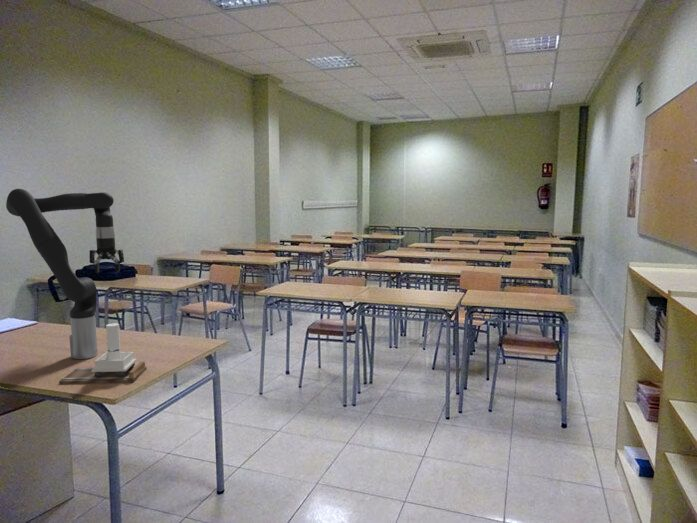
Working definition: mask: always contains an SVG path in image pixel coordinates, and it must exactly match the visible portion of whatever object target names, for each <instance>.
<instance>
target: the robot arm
mask: <svg viewBox="0 0 697 523" xmlns="http://www.w3.org/2000/svg"><path fill="white" fill-rule="evenodd" d="M5 203H6V204H5V207H6V211H8V213H10V214H11V215H13V216H15V217H20V219H21V220H22V221H23V223H24V224H25V226H26V229H27V231H28V235H29V237H30V239H31V241H32V243H33V246H34V247H35V250H37V252H38V254H39V255H40V257H42V259H43V260H44V262H45V264H47V266H48V268H49V269H50V271H51V272H52V274H53V276H54V277H55V279H56V281H57V282H58V285H59V286H60V289H61V291H62V292H63V293H64V296H65V297H66V298H67V299H68V300H70V301H71V302H74V305H73V306H72V308H71V309H70V311H69V317H70V318H69V320H70V330H71V334H70V335H69V350H70V358H71V359H76V360H85V359H92V358H94V357H95V358H96V357H97V356H98V351H99V350H98V340H97V339H98V338H97V337H98V336H97V325H96V309H97V304H98V301H97V300H98V299H97V298H98V297H97V295H98V294H97V286H96V282H94V280H93V279H92V278H90V277H87V276H85V277H78V276H77V275H76V274H75V272H74V271H73V269H72V268H71V266H70V262H69V256H68V251H67V248H66V246H65V245H64V243H63V241H62V240H61V238H60V237H59V235H58V234H57V233H56V231H55V230H54V229H53V227H52V226H51V224H50V223H49V222H48V220H47V219H46V218H45V216H44V214H43V213H47V212H48V213H49V212H58V211H72V210H75V211H76V210H87V209H93V210H94V211H93V212H94V215H95V237H96V239H95V240H96V242H95V243H96V249H91V250H89V263H90V264H93V265H94V266H93V268H94V272H95V273H97V274H99V273H100V262H101V261H102V260H111V261H113V262H114V264H115V265H114V266H115V268H114V269H115V273H119V272H120V271H121V264H122V263H124V262H125V256H124V251H123V249H122V248H121V249H116V236H115V235H116V234H115V227H114V219H113V215H112V214H111V206H113V204H114V203H115V202H114V198H113V195H111V194H110V193H109V192H93V193H83V192H78V193H75V192H74V193H72V192H71V193H63V194H57V195H54V196H50V197H41V198H34V196H33V195H32V193H30V192H29V191H27V190H26V189H23V188H14V189H12V190H10V192H9V193H8V195H7V197H6V202H5ZM96 254H97V257H96V258H95V256H96ZM116 254H117V255H118V257H117V256H116Z"/></svg>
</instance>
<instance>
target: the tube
mask: <svg viewBox="0 0 697 523" xmlns="http://www.w3.org/2000/svg"><path fill="white" fill-rule="evenodd" d="M105 326H106V341H107V342H106V347H107V352H108V360H121V352H122V351H121V339H120V337H121V336H120V324H119V323H117V322H114V323H108V324H106V325H105Z"/></svg>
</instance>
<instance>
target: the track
mask: <svg viewBox="0 0 697 523" xmlns="http://www.w3.org/2000/svg"><path fill="white" fill-rule="evenodd" d="M93 368H94V367H77V368H75V369H74V370H73V371H71V372H70V373H68V374H67V375H66V376H64V377H63V378H62V377H61V379H60V380H58V383H59V385H71V384H72V385H77V384H78V385H79V384H80V385H81V384H113V383H114V384H117V383H118V384H121V383H122V384H123V383H124V384H125V383H135V382H136V381H137V379H139V377H141V376H142V375H143V374H144V373H145V371H147V366H146V362H145V361H139V363H137V364H135V366H134V367H132V368H129V369H128V370H126V371H125V375H124V376H123V377H118V375H117V373H118V372H119V371H115V372H102V373H103V375H102V376H101V377H100V378H96V377H95V375H94V374H95V372H91V370H92V369H93Z"/></svg>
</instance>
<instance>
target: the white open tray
mask: <svg viewBox="0 0 697 523" xmlns="http://www.w3.org/2000/svg"><path fill="white" fill-rule="evenodd" d="M120 352H121V360H108V351H106V352H104V353H103V354H102V355H100V356H99V357H98V358H97V359H95V360H94V367H92V368H93V369H92V370H91V372H95V374H94V375H95V377H96V378H100V377H101V376H102V375H103V373H102V372H115V371H119V372H118V373H117V375H118V377H123V376H124V375H125V371H126V370H128V369H129V368H132V367H135V366H136V363H137V361H138V358H135V355H134V351H120Z"/></svg>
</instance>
